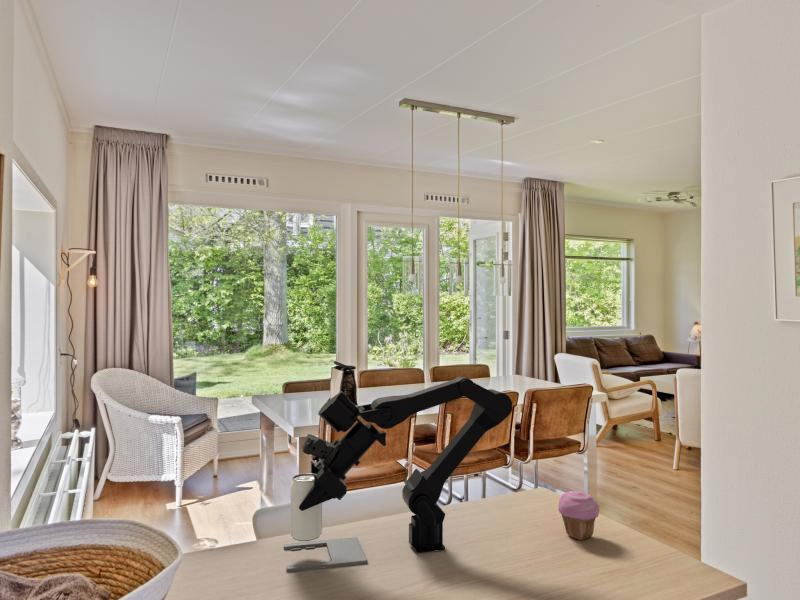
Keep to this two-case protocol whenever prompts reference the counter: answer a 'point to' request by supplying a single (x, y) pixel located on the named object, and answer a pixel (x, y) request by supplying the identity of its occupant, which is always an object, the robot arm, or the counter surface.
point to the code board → (331, 553)
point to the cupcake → (578, 514)
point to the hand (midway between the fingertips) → (299, 503)
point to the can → (309, 520)
